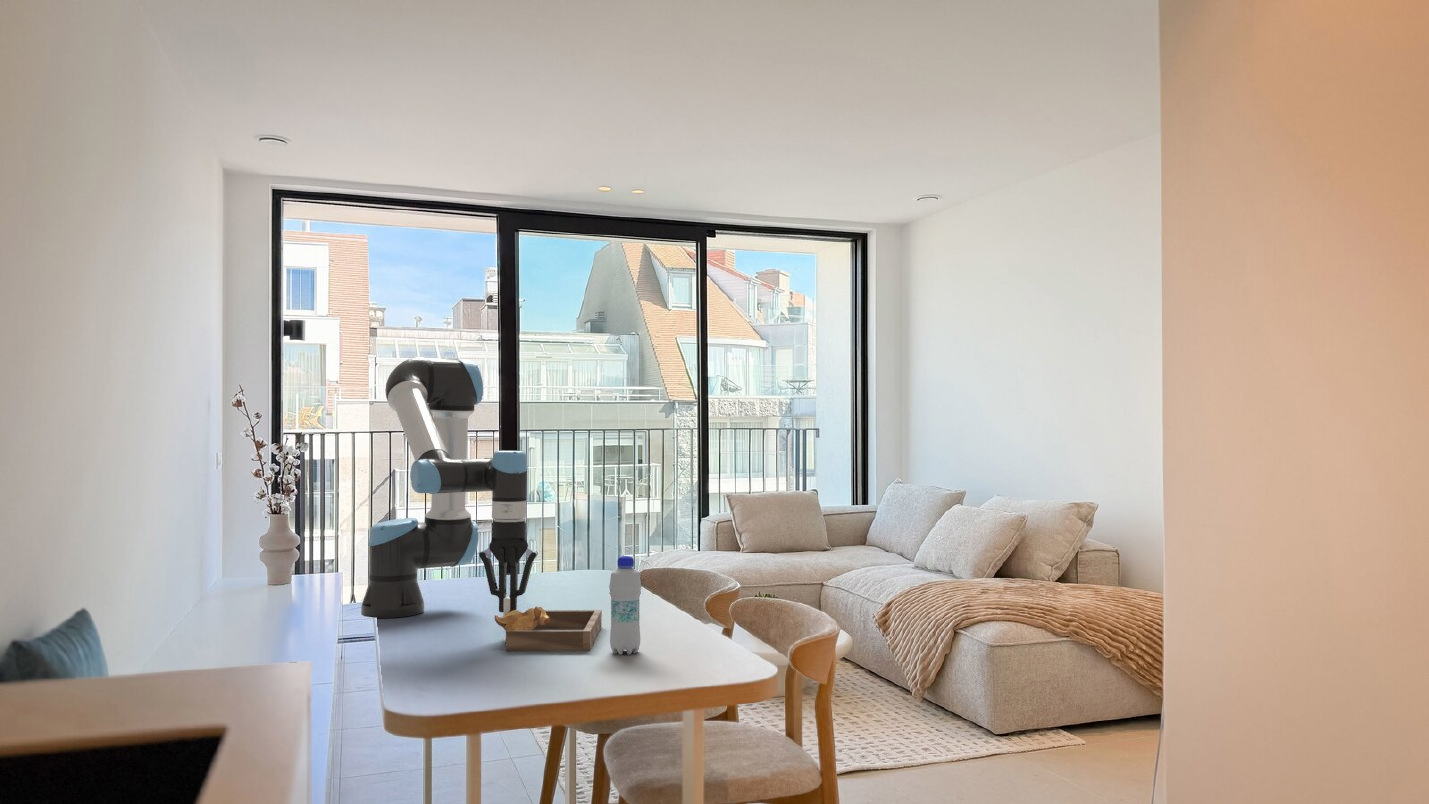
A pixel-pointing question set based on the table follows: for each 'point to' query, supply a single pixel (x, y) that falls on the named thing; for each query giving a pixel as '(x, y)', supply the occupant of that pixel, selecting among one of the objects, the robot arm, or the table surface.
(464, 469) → the robot arm
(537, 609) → the golden dog figurine
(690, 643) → the table surface
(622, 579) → the bottle
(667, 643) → the table surface
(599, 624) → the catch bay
